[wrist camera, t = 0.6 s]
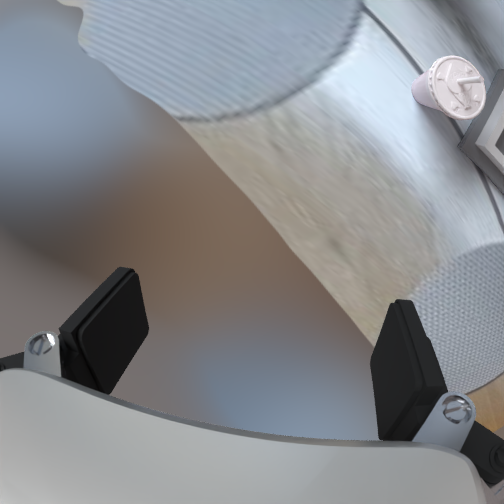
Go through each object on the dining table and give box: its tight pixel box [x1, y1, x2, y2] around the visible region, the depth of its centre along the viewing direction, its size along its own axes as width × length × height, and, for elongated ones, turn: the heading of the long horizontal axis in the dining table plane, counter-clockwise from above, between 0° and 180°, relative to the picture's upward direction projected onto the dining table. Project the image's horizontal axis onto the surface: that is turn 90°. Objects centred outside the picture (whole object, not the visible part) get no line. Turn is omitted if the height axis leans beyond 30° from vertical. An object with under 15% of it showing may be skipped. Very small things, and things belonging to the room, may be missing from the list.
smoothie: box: [411, 56, 486, 120], centre depth 22 cm, size 6×6×14 cm
